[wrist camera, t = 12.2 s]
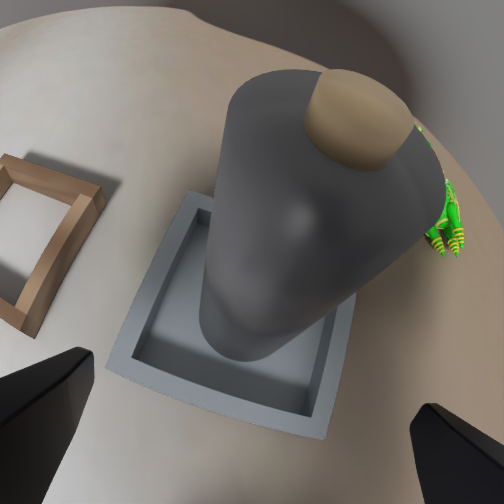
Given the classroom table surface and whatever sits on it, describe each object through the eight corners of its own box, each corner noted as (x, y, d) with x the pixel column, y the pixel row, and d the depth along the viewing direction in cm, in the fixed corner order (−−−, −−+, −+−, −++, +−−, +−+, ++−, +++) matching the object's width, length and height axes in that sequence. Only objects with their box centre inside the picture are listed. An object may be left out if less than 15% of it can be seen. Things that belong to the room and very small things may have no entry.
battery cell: (244, 381, 16) (426, 274, 4) (179, 312, 17) (174, 65, 5) (306, 319, 18) (487, 145, 6) (245, 258, 19) (332, 29, 7)
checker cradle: (34, 339, 15) (19, 330, 13) (-54, 275, 15) (-68, 263, 13) (106, 204, 20) (100, 186, 18) (12, 170, 20) (4, 153, 18)
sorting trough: (306, 437, 16) (324, 440, 13) (116, 373, 15) (104, 367, 13) (345, 270, 21) (362, 253, 19) (188, 213, 21) (189, 189, 19)
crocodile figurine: (402, 123, 32) (419, 96, 28) (463, 265, 24) (495, 242, 20) (353, 111, 31) (369, 80, 27) (410, 265, 23) (444, 238, 19)
